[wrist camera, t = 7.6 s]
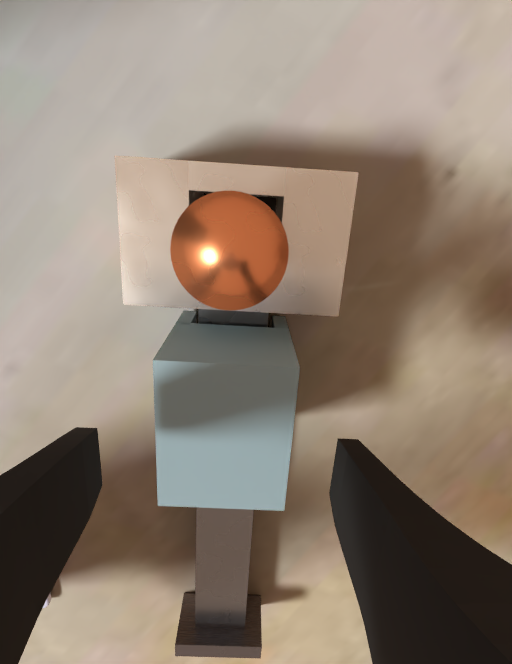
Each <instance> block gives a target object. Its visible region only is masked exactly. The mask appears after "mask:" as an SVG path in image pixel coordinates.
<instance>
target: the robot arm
mask: <svg viewBox="0 0 512 664" xmlns="http://www.w3.org/2000/svg"><path fill="white" fill-rule="evenodd" d="M101 487H102V475H101V464H100V453H99V442H98V431H97V428H78V427H76V428H75V429H73V430H71V431H69V432H68V433H66V434H65V435H63V436H61V437H60V438H58V439H57V440H55V441H54V442H52V443H51V444H49V445H48V446H46V447H45V448H43V449H41V450H40V451H38V452H37V453H35V454H34V455H32V456H31V457H29V458H28V459H26V460H24V461H23V462H21V463H20V464H18V465H17V466H15V467H13V468H12V469H10V470H9V471H7V472H5V473H4V474H2V475H0V664H18V663H19V660H20V658H21V656H22V653H23V651H24V649H25V646H26V644H27V642H28V639H29V637H30V635H31V632H32V630H33V628H34V625H35V623H36V620H37V618H38V616H39V614H40V612H41V610H42V608H45V607H47V606H48V605H49V603H50V601H51V594H50V592H51V590H52V588H53V586H54V584H55V583H56V581H57V579H58V577H59V575H60V573H61V571H62V569H63V568H64V566H65V564H66V562H67V560H68V558H69V556H70V554H71V553H72V551H73V549H74V547H75V545H76V543H77V541H78V539H79V537H80V536H81V534H82V532H83V530H84V528H85V526H86V524H87V522H88V520H89V518H90V516H91V513H92V511H93V508H94V506H95V503H96V501H97V498H98V495H99V492H100V490H101ZM329 494H330V500H331V506H332V512H333V517H334V522H335V527H336V531H337V534H338V537H339V541H340V544H341V547H342V551H343V554H344V557H345V561H346V564H347V567H348V570H349V574H350V577H351V580H352V583H353V587H354V590H355V593H356V596H357V600H358V603H359V606H360V610H361V614H362V618H363V621H364V625H365V630H366V634H367V639H368V644H369V648H370V653H371V658H372V662H373V664H512V565H511V564H510V563H508V562H506V561H505V560H503V559H502V558H500V557H499V556H497V555H496V554H494V553H492V552H491V551H489V550H488V549H486V548H485V547H483V546H482V545H480V544H479V543H478V542H476V541H475V540H473V539H472V538H470V537H469V536H468V535H466V534H465V533H464V532H462V531H461V530H460V529H458V528H457V527H455V526H454V525H453V524H451V523H450V522H449V521H447V520H446V519H445V518H444V517H442V516H441V515H440V514H438V513H437V512H436V511H435V510H434V509H432V508H431V507H430V506H429V505H428V504H427V503H425V502H424V501H423V500H422V499H421V498H419V497H418V496H417V495H416V494H415V493H414V492H413V491H411V490H410V489H409V488H408V487H407V486H406V485H405V484H404V483H403V482H401V481H400V480H399V479H398V478H397V477H396V476H395V475H394V474H393V473H392V472H391V471H390V470H389V469H388V468H387V467H386V466H385V465H384V464H383V463H382V462H381V461H380V460H379V459H377V458H376V457H375V456H374V455H373V454H372V453H371V452H370V451H369V450H368V449H367V448H366V447H365V446H364V445H363V444H362V443H361V442H360V441H359V440H357V439H338V441H337V448H336V454H335V460H334V467H333V473H332V480H331V486H330V492H329Z"/></svg>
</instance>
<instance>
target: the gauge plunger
mask: <svg viewBox="0 0 512 664" xmlns="http://www.w3.org/2000/svg"><path fill="white" fill-rule="evenodd" d="M170 253H171V261H172V265H173V268H174V271H175V274H176V276H177V278H178V280H179V281H180V283H181V284H182V286H183V287H184V288H185V289H186V291H187V292H188V293H189V294H190V295H191V296H193V297H194V298H195V299H197V300H198V301H199V302H201V303H203V304H205V305H207V306H210V307H212V308H216V309H220V310H241V309H246V308H249V307H252V306H254V305H256V304H258V303H260V302H262V301H263V300H265V299H266V298H267V297H269V296H270V295H271V294H272V293H273V292H274V290H275V289H276V288H277V287H278V285H279V284H280V282H281V280H282V278H283V276H284V274H285V271H286V268H287V264H288V256H289V248H288V240H287V236H286V232H285V230H284V227H283V225H282V223H281V221H280V219H279V218H278V217H277V215H276V214H275V212H274V211H273V210H272V209H271V208H270V207H269V206H268V205H266V204H265V203H264V202H263V201H261V200H259V199H258V198H256V197H254V196H252V195H250V194H247V193H243V192H239V191H217V192H213V193H210V194H207V195H205V196H203V197H200V198H199V199H197V200H196V201H194V202H193V203H192V204H191V205H189V206H188V207H187V208H186V209H185V211H184V212H183V213H182V214H181V216H180V217H179V219H178V221H177V223H176V225H175V227H174V230H173V233H172V238H171V246H170Z"/></svg>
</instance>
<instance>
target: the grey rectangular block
mask: <svg viewBox="0 0 512 664" xmlns="http://www.w3.org/2000/svg"><path fill="white" fill-rule="evenodd" d="M115 171H116V188H117V206H118V223H119V240H120V257H121V274H122V291H123V305H139V306H157V307H175V308H193V309H210V310H220V309H216V308H212V307H210V306H207V305H205V304H203V303H201V302H199V301H198V300H197V299H195V298H194V297H193V296H191V295H190V294H189V293H188V292H187V291H186V289H185V288H184V287H183V286H182V284H181V283H180V281H179V280H178V278H177V276H176V274H175V271H174V268H173V265H172V261H171V253H170V246H171V238H172V233H173V230H174V227H175V225H176V223H177V221H178V219H179V217H180V216H181V214H182V213H183V212H184V211H185V209H186V208H187V207H188V206H189V205H191V204H192V203H193V202H194V201H196V200H197V199H199V198H200V197H203V194H204V193H213V192H217V191H239V192H243V193H247V194H250V195H252V196H259V197H274V198H277V200H276V213H275V214H276V215H277V217H278V218H279V219H280V221H281V223H282V225H283V227H284V230H285V232H286V236H287V240H288V248H289V256H288V264H287V268H286V271H285V274H284V276H283V278H282V280H281V282H280V284H279V285H278V287H277V288H276V289H275V290H274V292H273V293H272V294H271V295H270V296H269V297H267V298H266V299H265V300H263V301H262V302H260V303H258V304H256V305H254V306H252V307H249V308H246V309H241V310H228V311H246V312H264V313H282V314H299V315H317V316H335V317H338V316H339V309H340V302H341V295H342V288H343V281H344V273H345V266H346V259H347V252H348V245H349V238H350V231H351V224H352V217H353V210H354V203H355V195H356V188H357V181H358V174H359V172H348V171H334V170H319V169H304V168H290V167H275V166H260V165H246V164H231V163H216V162H202V161H187V160H172V159H158V158H143V157H129V156H115Z"/></svg>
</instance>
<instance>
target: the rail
mask: <svg viewBox="0 0 512 664" xmlns="http://www.w3.org/2000/svg"><path fill="white" fill-rule="evenodd" d="M268 314H269V313H264V312H246V311H228V310H210V309H198V324H215V325H233V326H251V327H268ZM253 512H254V510H250V509H225V508H199V507H196V588H195V593H184V597H183V603H182V608H181V614H180V620H179V626H178V631H177V637H176V643H175V656H195V657H231V658H261V648H262V643H261V598H260V595H247V591H248V578H249V565H250V552H251V538H252V525H253Z"/></svg>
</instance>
